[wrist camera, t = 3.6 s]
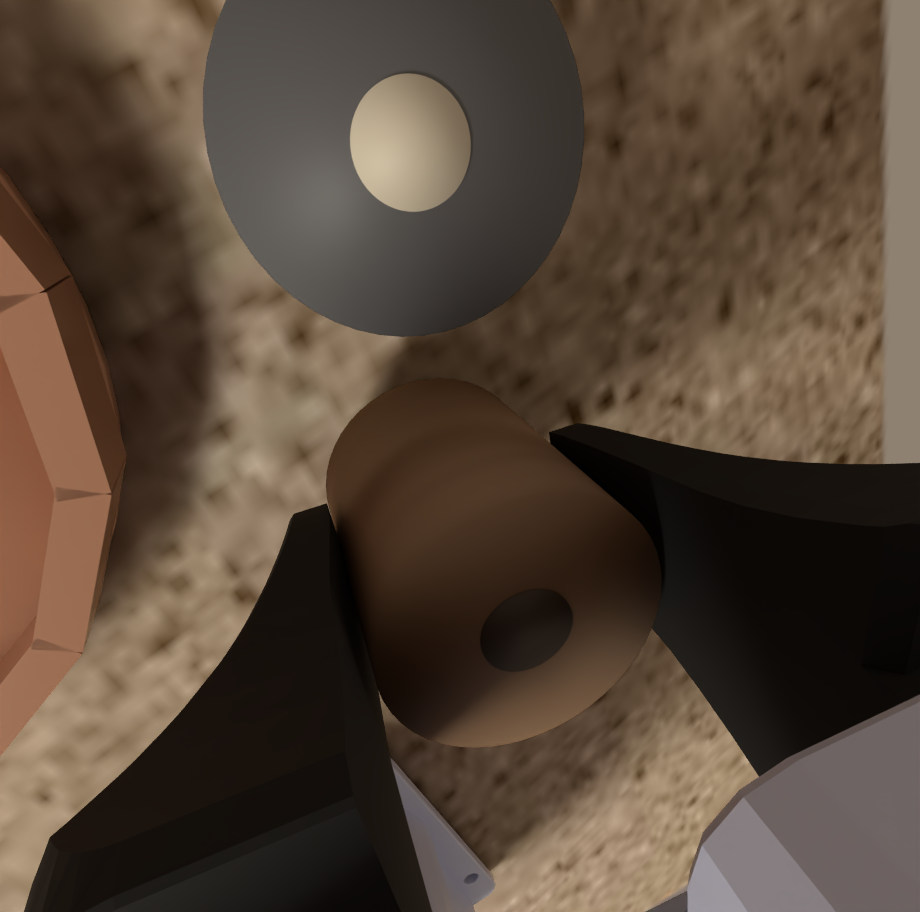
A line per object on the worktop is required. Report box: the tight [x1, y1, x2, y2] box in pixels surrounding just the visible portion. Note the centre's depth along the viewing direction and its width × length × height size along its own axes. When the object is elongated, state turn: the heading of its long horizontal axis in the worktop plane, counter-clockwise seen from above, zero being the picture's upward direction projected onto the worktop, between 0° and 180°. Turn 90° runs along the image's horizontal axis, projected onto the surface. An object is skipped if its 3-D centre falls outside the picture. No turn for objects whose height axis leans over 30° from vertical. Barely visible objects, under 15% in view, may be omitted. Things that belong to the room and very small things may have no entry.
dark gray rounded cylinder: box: [203, 0, 584, 337], centre depth 9 cm, size 4×4×5 cm
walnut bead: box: [326, 378, 662, 748], centre depth 11 cm, size 4×4×5 cm
